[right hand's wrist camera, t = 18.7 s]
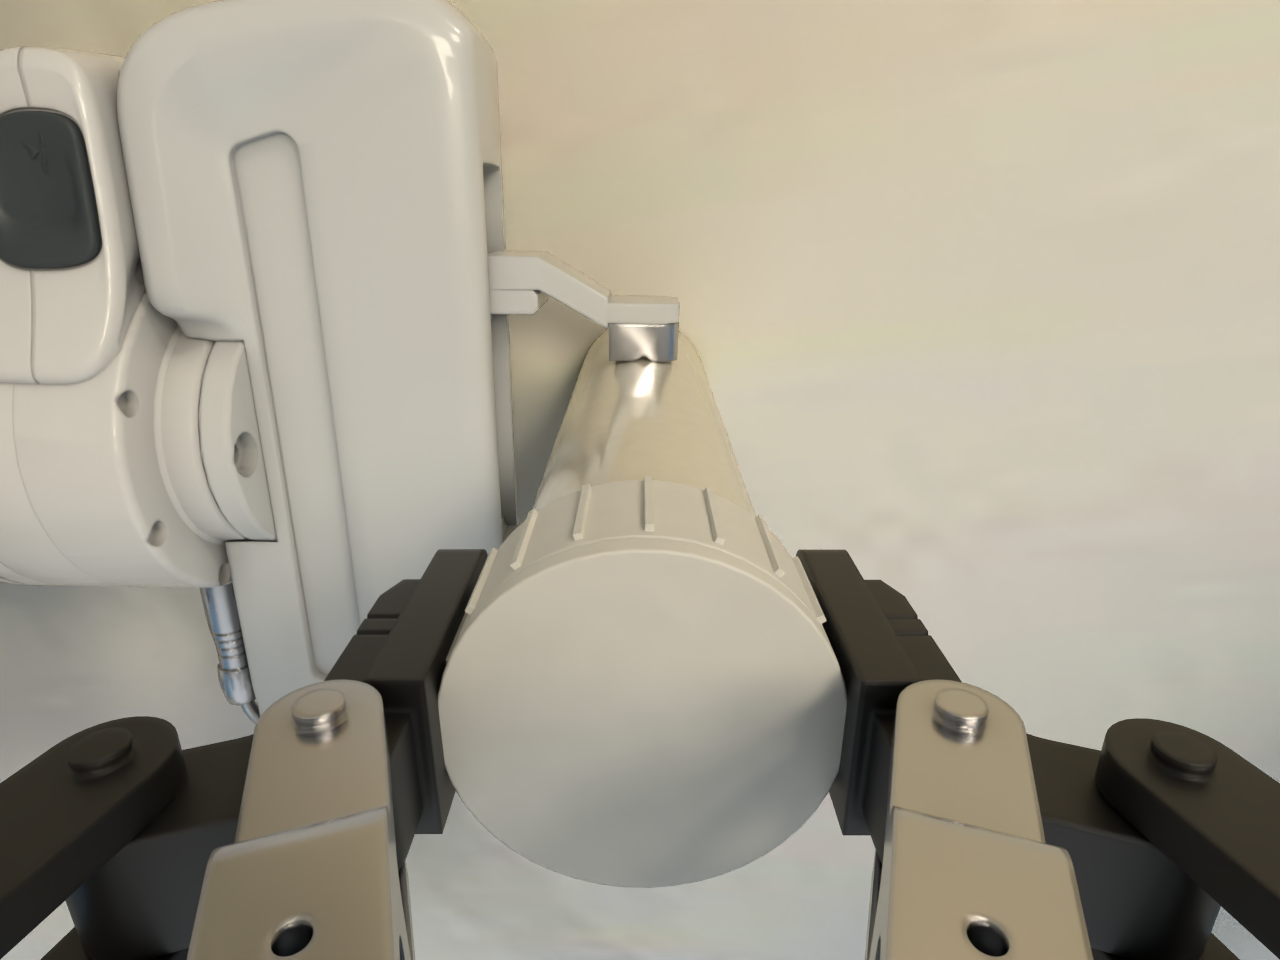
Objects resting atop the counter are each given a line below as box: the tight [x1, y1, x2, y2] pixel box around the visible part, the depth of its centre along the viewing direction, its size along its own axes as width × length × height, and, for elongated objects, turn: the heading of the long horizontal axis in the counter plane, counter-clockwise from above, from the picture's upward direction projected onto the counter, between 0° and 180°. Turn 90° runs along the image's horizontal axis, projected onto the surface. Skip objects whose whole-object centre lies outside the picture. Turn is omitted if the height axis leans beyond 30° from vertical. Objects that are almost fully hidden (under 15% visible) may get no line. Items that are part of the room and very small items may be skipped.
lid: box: [438, 476, 847, 888], centre depth 10 cm, size 5×5×2 cm
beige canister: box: [531, 329, 757, 518], centre depth 18 cm, size 4×4×18 cm
